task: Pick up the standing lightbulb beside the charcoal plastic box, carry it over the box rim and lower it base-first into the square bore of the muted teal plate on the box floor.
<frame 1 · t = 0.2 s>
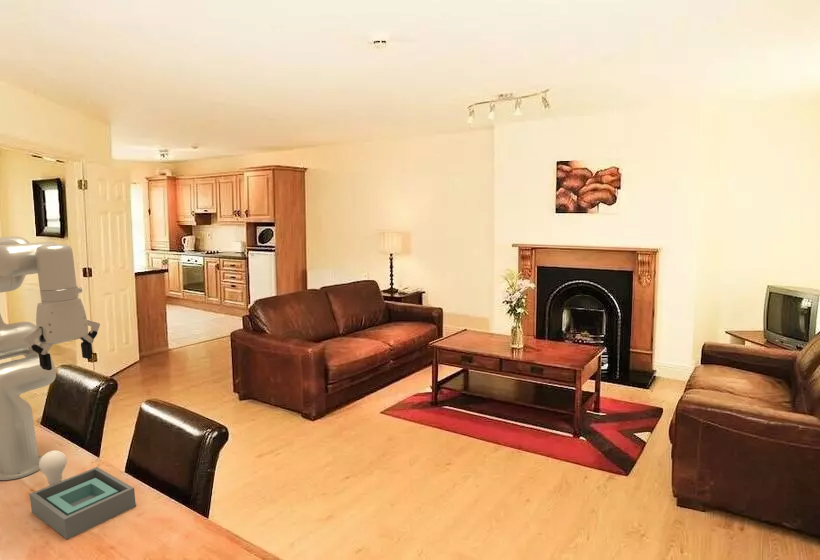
hand: (67, 363, 134), 36 cm above the table, tool pointing down, fingers open, 9 cm apart
open box: (84, 509, 135), on the table
lightbulb: (56, 491, 144), on the table
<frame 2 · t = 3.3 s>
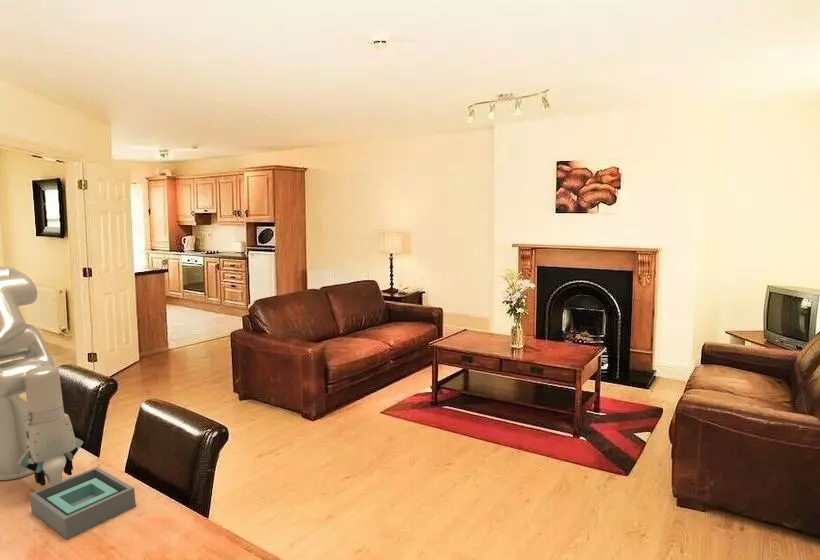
hand: (55, 478, 144), 4 cm above the table, tool pointing down, fingers closed on lightbulb, 5 cm apart
lightbulb: (56, 491, 144), on the table, touching gripper
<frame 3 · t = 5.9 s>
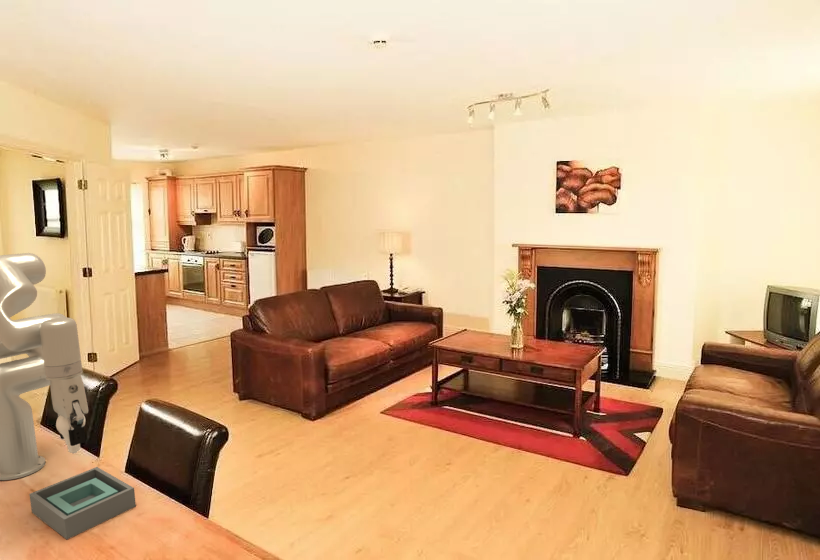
hand: (73, 439, 133), 18 cm above the table, tool pointing down, fingers closed on lightbulb, 5 cm apart
lightbulb: (74, 453, 134), point 14 cm above the table, touching gripper
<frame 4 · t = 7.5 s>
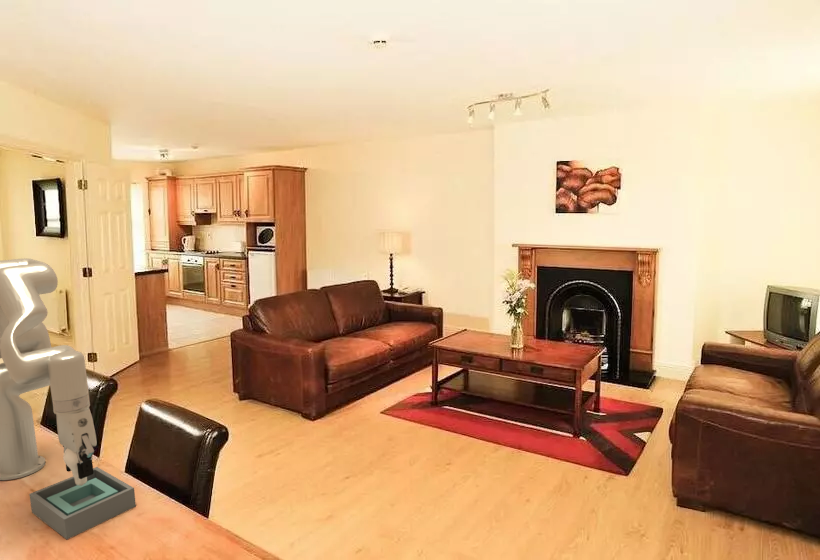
hand: (80, 472, 134), 10 cm above the table, tool pointing down, fingers closed on lightbulb, 5 cm apart
lightbulb: (81, 485, 134), point 6 cm above the table, touching gripper
when the fingers open (6 cm above the table, at t = 8.7 s): lightbulb drops 1 cm, resting on open box.
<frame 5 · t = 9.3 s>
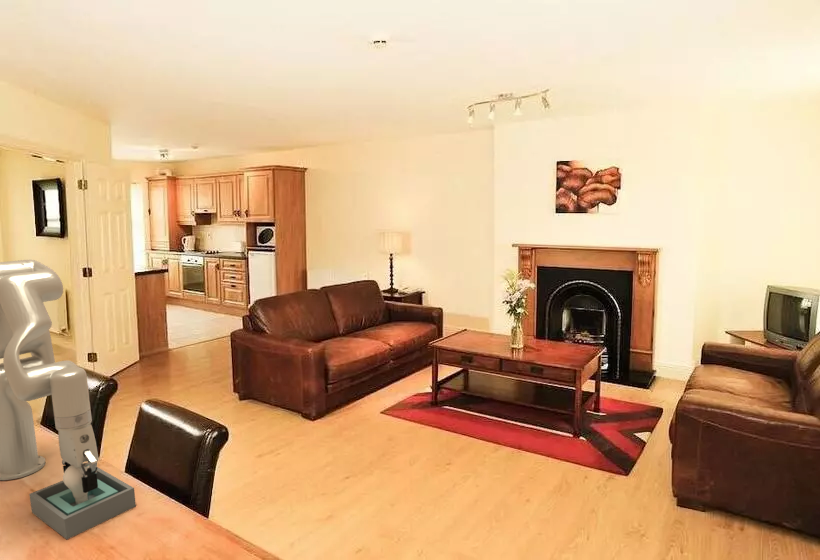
hand: (81, 484, 134), 7 cm above the table, tool pointing down, fingers open, 9 cm apart
lightbulb: (82, 504, 136), point 1 cm above the table, touching open box
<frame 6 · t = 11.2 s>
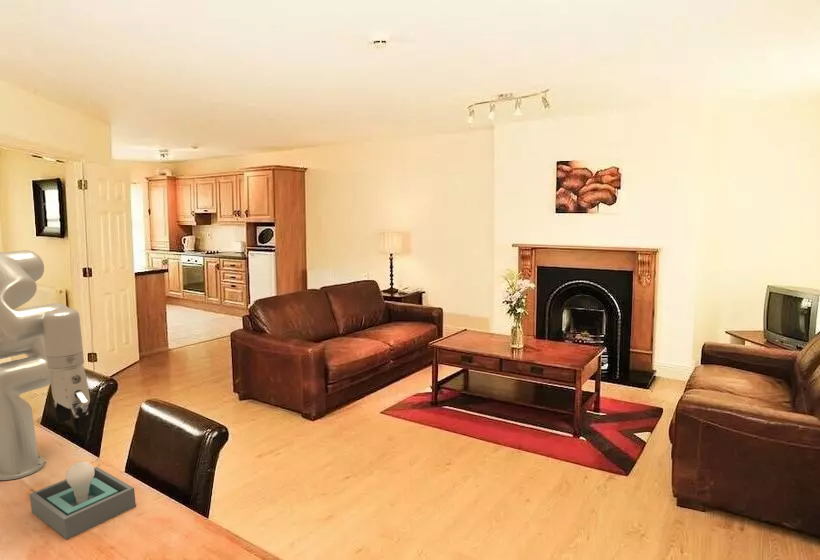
hand: (72, 426, 134), 21 cm above the table, tool pointing down, fingers open, 9 cm apart
nothing on the table moved.
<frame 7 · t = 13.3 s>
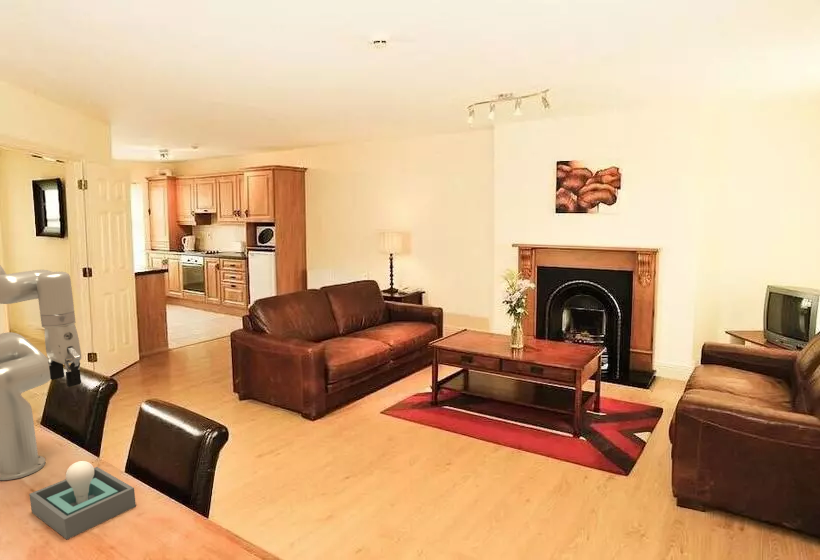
hand: (65, 381, 145), 28 cm above the table, tool pointing down, fingers open, 9 cm apart
nothing on the table moved.
at the end: lightbulb 0.8 cm off-centre on the open box, point 0.9 cm above the open box's base; lightbulb tilted 3°; the gripper is holding nothing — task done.
